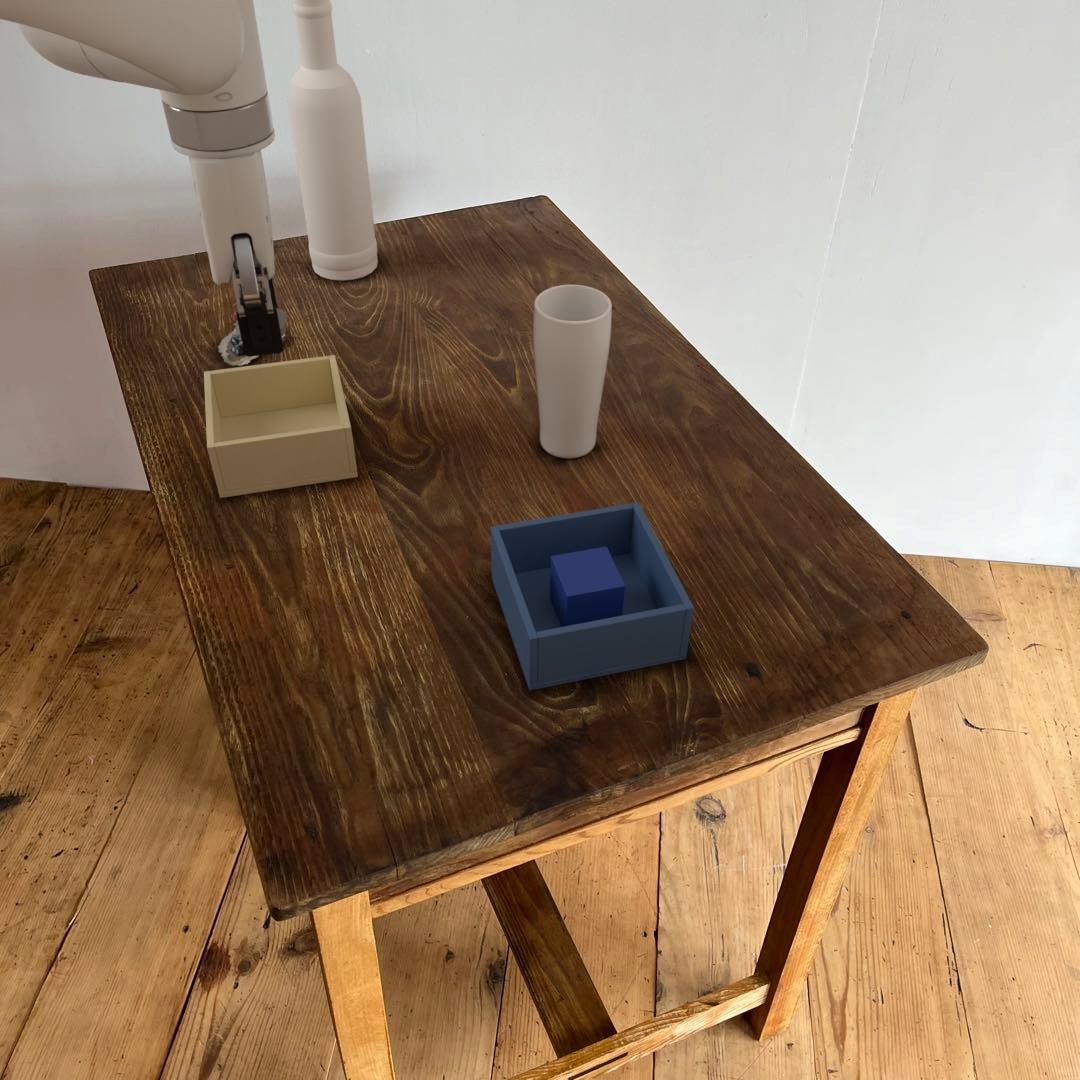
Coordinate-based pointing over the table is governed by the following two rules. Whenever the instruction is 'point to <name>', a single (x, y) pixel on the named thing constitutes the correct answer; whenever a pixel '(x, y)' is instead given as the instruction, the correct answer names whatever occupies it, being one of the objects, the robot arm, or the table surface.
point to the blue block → (585, 586)
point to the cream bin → (278, 426)
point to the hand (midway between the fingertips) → (262, 332)
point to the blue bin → (603, 645)
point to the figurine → (281, 313)
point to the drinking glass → (570, 366)
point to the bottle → (330, 152)
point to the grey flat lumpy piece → (235, 350)
